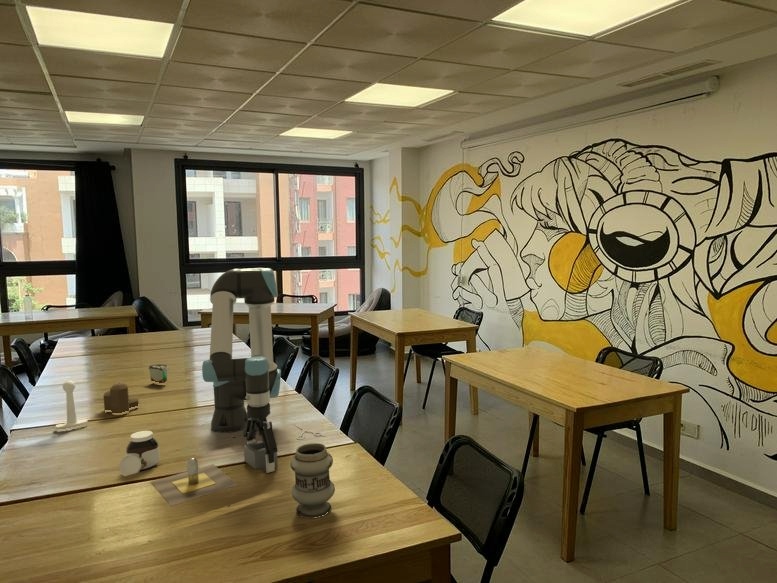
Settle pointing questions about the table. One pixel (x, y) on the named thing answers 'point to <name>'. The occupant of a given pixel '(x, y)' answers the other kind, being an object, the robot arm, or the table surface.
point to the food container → (158, 372)
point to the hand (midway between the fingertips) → (261, 465)
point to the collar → (257, 455)
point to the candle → (118, 399)
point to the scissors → (308, 431)
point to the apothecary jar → (312, 480)
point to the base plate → (180, 491)
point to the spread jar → (140, 454)
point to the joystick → (70, 408)
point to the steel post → (192, 471)
